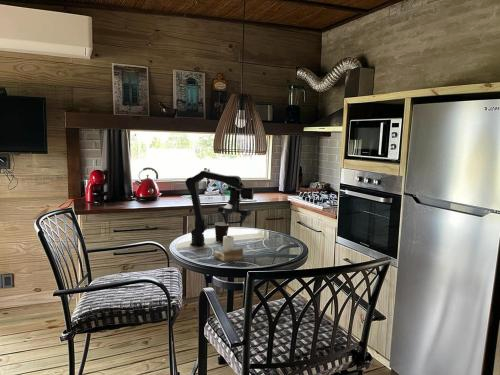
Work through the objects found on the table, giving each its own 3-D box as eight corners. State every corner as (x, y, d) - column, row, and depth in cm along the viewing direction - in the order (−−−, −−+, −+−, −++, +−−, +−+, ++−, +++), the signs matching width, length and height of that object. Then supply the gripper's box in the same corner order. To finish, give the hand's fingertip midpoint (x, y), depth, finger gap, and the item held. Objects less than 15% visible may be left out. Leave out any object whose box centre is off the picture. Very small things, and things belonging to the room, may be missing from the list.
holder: (214, 257, 202) (214, 247, 201) (230, 253, 209) (231, 244, 209) (225, 262, 195) (226, 252, 194) (242, 258, 202) (242, 249, 201)
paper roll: (220, 257, 202) (221, 235, 201) (228, 255, 206) (229, 234, 204) (226, 259, 198) (227, 238, 197) (234, 258, 202) (235, 236, 201)
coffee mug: (220, 237, 241) (221, 221, 240) (231, 240, 236) (231, 224, 234) (207, 240, 232) (208, 224, 231) (217, 243, 227) (218, 227, 226)
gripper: (212, 198, 213) (211, 225, 215) (242, 202, 205) (241, 230, 207) (223, 196, 223) (222, 222, 225) (252, 199, 214) (250, 227, 217)
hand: (233, 225), depth 218 cm, fingers open, 9 cm apart
